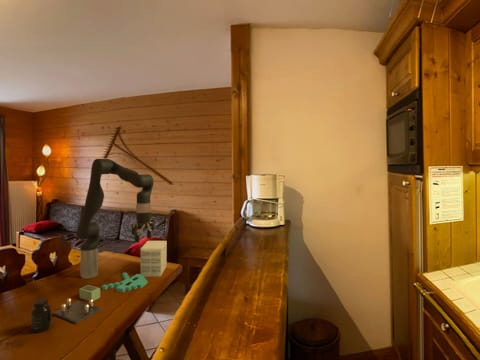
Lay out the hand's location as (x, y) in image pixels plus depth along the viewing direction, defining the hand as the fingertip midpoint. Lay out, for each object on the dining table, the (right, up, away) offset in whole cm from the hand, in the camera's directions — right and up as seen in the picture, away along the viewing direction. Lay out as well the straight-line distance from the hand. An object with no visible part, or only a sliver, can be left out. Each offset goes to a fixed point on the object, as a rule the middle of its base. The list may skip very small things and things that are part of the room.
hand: (143, 240), depth 146 cm
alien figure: (-12, -29, +10) cm, 33 cm away
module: (-26, -29, -7) cm, 39 cm away
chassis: (-23, -29, -21) cm, 43 cm away
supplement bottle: (-31, -30, -33) cm, 55 cm away
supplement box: (-4, -27, +30) cm, 40 cm away
